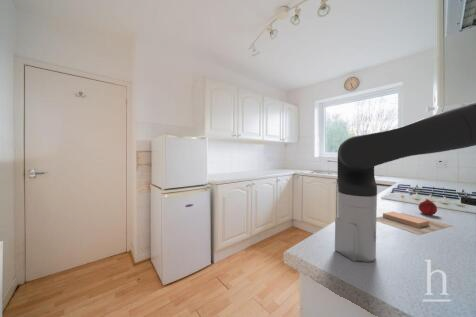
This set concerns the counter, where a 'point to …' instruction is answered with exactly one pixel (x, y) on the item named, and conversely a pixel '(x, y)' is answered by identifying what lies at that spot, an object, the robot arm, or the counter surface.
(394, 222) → the board
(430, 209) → the onion
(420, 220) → the tile
